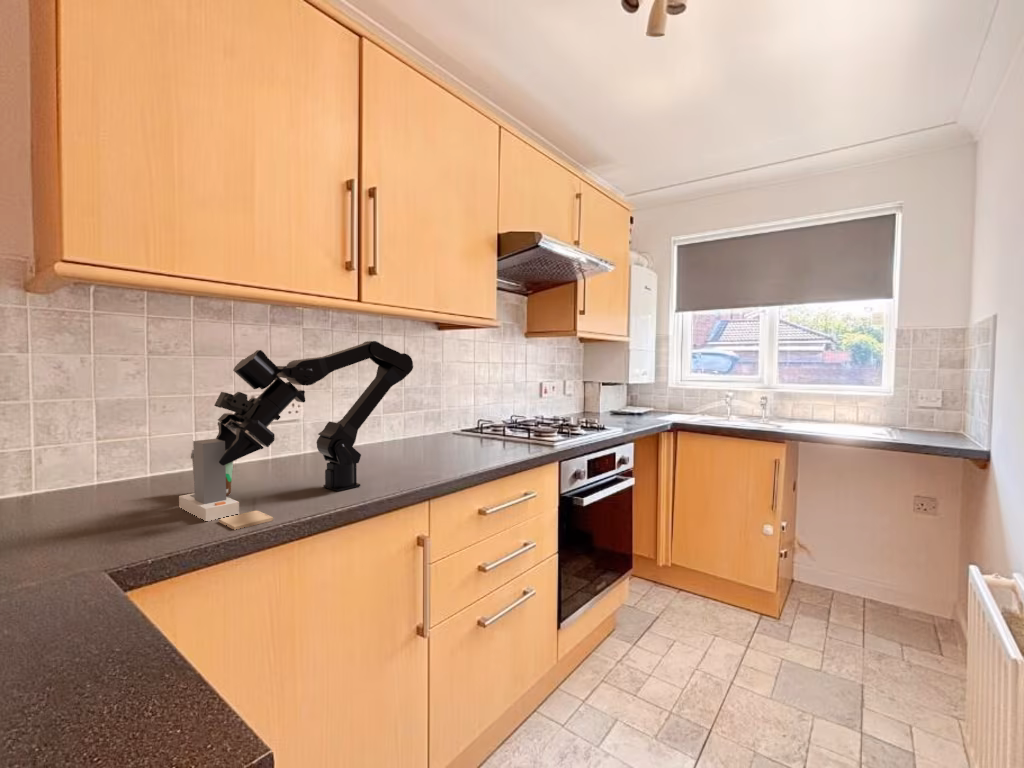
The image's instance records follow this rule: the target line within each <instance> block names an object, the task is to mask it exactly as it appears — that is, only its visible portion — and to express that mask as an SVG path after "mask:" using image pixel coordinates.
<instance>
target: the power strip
mask: <svg viewBox="0 0 1024 768" xmlns="http://www.w3.org/2000/svg"><path fill="white" fill-rule="evenodd" d="M178 502H179V503H178V505H179V507H180V508H179V509H181V508H182V509H181V510H183V509H184V510H185V512H186V511H187V512H186V513H188V512H189V514H190V513H191V514H190V515H192V514H193V515H192V516H194V515H195V516H194V517H196V516H197V517H196V518H198V519H200V518H201V519H203V520H204V521H203V520H202V521H203V522H205V521H208V522H211V520H212V521H216V520H219V519H218V518H223V517H226V516H229V517H230V516H231V515H235V514H240V502H239V501H237V500H235V499H233V498H231V497H228V496H226V500H223V501H218V502H213V503H208V504H203V503H200V502H198V501H196V500H195V495H194V492H193V493H188V494H183V495H179V496H178ZM184 510H183V511H184ZM201 519H200V520H201ZM215 519H216V520H215Z"/></svg>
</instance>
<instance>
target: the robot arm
mask: <svg viewBox="0 0 1024 768" xmlns="http://www.w3.org/2000/svg"><path fill="white" fill-rule="evenodd" d="M366 360H371V361H372V362H373V363H374V364H375V365H377V366H378V367H377V369H376V370H377V371H376V375H375V377H374V379H373V380H372V381H371V382H370V384H369V385H368V386H367V387H366V389H364V391H363V392H362V394H361V395H360V396H359V397H358V398H357V400H356V401H354V404H353V405H352V406H351V407H350V409H348V410H347V412H346V414H344V416H342V419H340V420H338V421H336V422H334V421H328V422H327V423H326V425H325V427H324V428H323V429H322V431H319V433H317V435H318V438H317V439H316V449H317V451H318V452H319V453H320V454H321V455H322V456H323V459H324V461H327V462H326V469H325V471H324V481H325V483H324V484H323V485H322V486H323V488H326V489H330V490H332V491H335V492H336V491H337V492H339V491H345V490H348V489H353V488H357V487H361V483H358V482H357V481H358V480H357V468H358V467H357V464H359V463H360V460H361V457H362V454H361V453H360V452H359V451H358V450H356V449H355V448H354V447H353V446H355V445H354V444H355V443H356V440H357V435H358V431H359V429H360V428H361V427H362V425H363V424H364V423H365V421H366V420H367V419H368V417H369V416H370V415H371V414H372V412H373V411H374V410H375V409H376V407H377V406H378V404H380V402H381V401H382V400H383V398H384V397H385V396H386V395H387V394H388V392H389V391H390V389H391V388H392V387H393V386H395V385H397V384H398V383H399V382H402V381H403V380H404V379H405V378H406V377H408V375H410V373H411V372H412V371H413V369H414V362H413V359H412V356H410V355H409V354H408V353H402V352H401V353H400V352H399V351H397V350H395V349H393V348H390V347H388V346H385V345H384V344H382V343H380V342H379V341H378V340H368V341H364V342H362V343H360V344H357V345H353V346H352V347H351V346H350V347H348V348H345V349H342V350H339V351H335V352H333V353H330V354H327V355H323V356H319V357H311V358H309V357H308V358H301V359H295V360H291V361H288V363H287V364H286V365H283V366H282V365H276V364H275V363H274V362H273V361H272V360H271V359H270V358H269V357H268V356H267V355H266V353H265V352H264V351H263V350H262V349H256V350H255V351H254V352H253V353H251V354H250V355H248V356H247V357H245V358H243V359H241V360H240V361H239V362H238V363H237V364H236V365H235V366H234V367H233V372H234V373H235V374H236V375H238V376H239V377H240V378H241V379H242V380H243V381H244V382H245V383H247V384H248V386H250V387H251V388H252V389H253V390H257V389H260V390H264V391H262V392H261V394H260V395H258V397H256V398H255V397H253V398H252V397H251V398H249V400H248V394H246V393H243V392H240V391H237V392H235V393H234V394H232V393H230V392H229V393H228V392H226V391H225V392H224V391H220V393H219V395H218V397H217V399H216V402H215V403H214V406H215V407H216V408H220V409H221V408H222V409H225V410H228V411H231V412H233V413H231V412H230V413H229V412H228V413H227V412H226V413H223V414H221V416H219V417H218V419H217V421H218V422H217V426H218V434H217V435H216V437H215V439H218V440H222V441H225V451H226V450H227V449H228V450H227V451H226V453H225V454H224V455H223V457H222V458H221V459H220V461H219V463H220V464H221V465H223V466H224V465H226V464H228V463H230V462H232V461H233V462H235V461H237V460H239V459H242V458H243V457H246V456H248V455H250V454H253V453H255V452H258V451H261V450H263V449H265V447H266V448H269V447H270V446H271V445H272V444H273V443H274V442H275V441H276V440H275V433H274V432H273V431H272V430H270V429H269V428H268V427H269V426H270V425H271V424H272V423H273V421H278V420H280V419H281V418H282V416H281V414H282V413H283V411H284V410H285V409H286V408H287V407H288V406H289V405H290V404H291V403H292V402H293V401H294V400H295V401H296V402H298V403H306V396H305V393H306V391H305V390H304V389H298V388H297V387H296V386H297V385H298V386H312V385H314V384H316V383H317V382H320V381H322V379H325V378H326V377H327V376H328V375H329V374H331V373H332V372H334V371H336V370H337V371H339V369H342V368H347V367H348V366H351V365H354V364H357V363H360V362H363V361H366ZM282 378H283V379H286V382H285V381H284V380H283V379H282ZM295 385H296V386H295Z"/></svg>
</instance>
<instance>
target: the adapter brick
mask: <svg viewBox="0 0 1024 768" xmlns="http://www.w3.org/2000/svg"><path fill="white" fill-rule="evenodd" d="M192 441H193V442H192V446H193V449H192V450H193V454H194V474H193V489H194V490H193V491H194V492H193V493H194V495H195V500H196V501H198V502H200V503H203V504H208V503H213V502H218V501H223V500H226V497H227V496H226V465H224V466H223V465H221V464H220V463H219V461H220V459H221V458H222V457H223V455H224V454H225V441H222V440H218V439H216V438H208V439H200V440H192Z"/></svg>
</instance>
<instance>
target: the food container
mask: <svg viewBox="0 0 1024 768" xmlns="http://www.w3.org/2000/svg"><path fill="white" fill-rule="evenodd" d="M227 450H228V449H227ZM227 450H226V451H227ZM226 451H225V453H226ZM190 459H191V460H192V470H193V471H192V472H193V475H194V454H193V449H191V453H190ZM233 463H234V461H232V462H230V463H228V464H226V497H228V496H230V495H231V494H230V493H231V491H232V479H233V468H234V467H233V465H234V464H233ZM229 494H230V495H229Z"/></svg>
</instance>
